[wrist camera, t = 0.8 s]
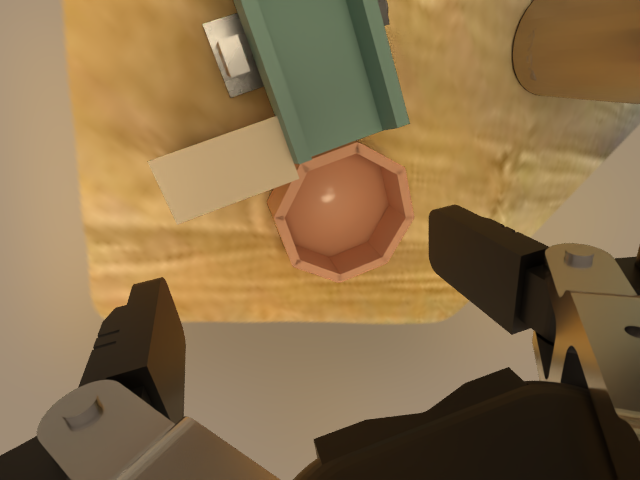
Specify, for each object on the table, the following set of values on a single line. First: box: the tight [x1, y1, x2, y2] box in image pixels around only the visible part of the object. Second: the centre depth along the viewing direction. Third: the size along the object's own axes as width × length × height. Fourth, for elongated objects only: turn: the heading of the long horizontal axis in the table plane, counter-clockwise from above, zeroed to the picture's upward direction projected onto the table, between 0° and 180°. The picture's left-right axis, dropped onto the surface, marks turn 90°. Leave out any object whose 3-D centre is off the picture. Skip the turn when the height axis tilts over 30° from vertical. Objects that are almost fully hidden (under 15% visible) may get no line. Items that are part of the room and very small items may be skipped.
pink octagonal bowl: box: [267, 141, 414, 283], centre depth 33 cm, size 12×12×4 cm
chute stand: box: [203, 0, 389, 97], centre depth 26 cm, size 11×5×7 cm, turn 107°
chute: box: [147, 0, 410, 225], centre depth 22 cm, size 15×15×6 cm
